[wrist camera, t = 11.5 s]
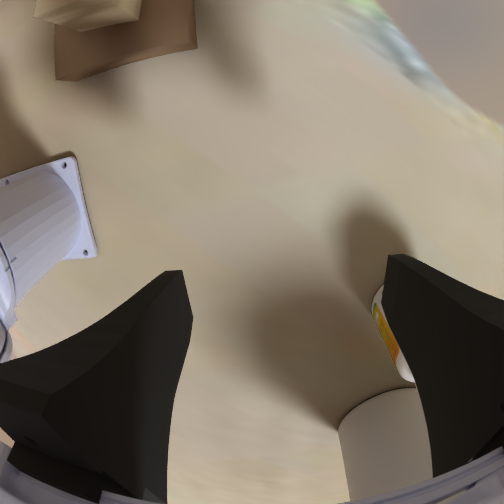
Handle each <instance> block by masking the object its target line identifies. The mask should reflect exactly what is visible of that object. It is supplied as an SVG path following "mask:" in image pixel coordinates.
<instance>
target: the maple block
mask: <svg viewBox="0 0 504 504" xmlns="http://www.w3.org/2000/svg"><path fill="white" fill-rule="evenodd" d="M141 1H142V0H37V3H36V7H35V11H34V16H33V17H34V18H37V19H41V20H44V21H48V22H51V23H55V24H58V25H61V26H64V27H67V28H70V29H73V30H76V31H79V32H84V31H88V30H92V29H96V28H100V27H105V26H109V25H114V24H119V23H125V22H131V21H137V20H139V14H140V8H141Z"/></svg>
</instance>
